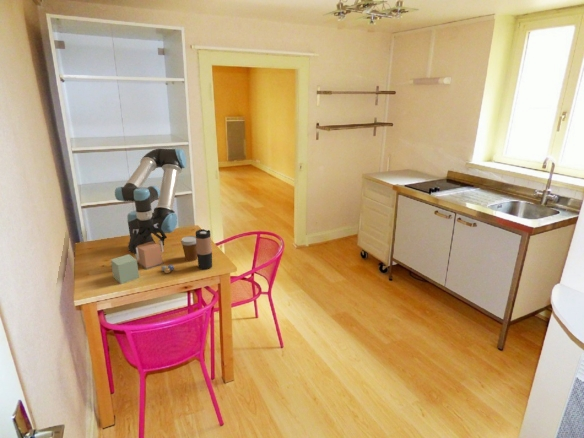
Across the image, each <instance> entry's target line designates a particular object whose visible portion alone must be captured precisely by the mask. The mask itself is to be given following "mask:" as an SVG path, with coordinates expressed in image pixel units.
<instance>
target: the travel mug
mask: <svg viewBox="0 0 584 438" xmlns="http://www.w3.org/2000/svg"><path fill="white" fill-rule="evenodd" d="M195 236H196V246H197V265H198V269H199V270H202V271H203V270H205V271H206V270H210V269H212V268H213V249H212V237H211V230H210V229H208V230H207V229H198V230H196V231H195Z"/></svg>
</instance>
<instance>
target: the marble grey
mask: <svg viewBox="0 0 584 438" xmlns="http://www.w3.org/2000/svg"><path fill="white" fill-rule="evenodd" d="M165 268H168V266H167V265H161V268H160V269H161V271H162V272H164V269H165Z"/></svg>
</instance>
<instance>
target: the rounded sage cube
mask: <svg viewBox="0 0 584 438" xmlns="http://www.w3.org/2000/svg"><path fill="white" fill-rule="evenodd" d="M110 263H111V269H112V275H113V279H114V278H115V281H116V282H117V283H119V284H120V285H122V284H126V283H128V282H130V281H133V280H138V279H140V274H139V266H138V260H137V259H136V257H135V256H134V257H133V256H132V255H131V254H129V253H128V254H125V255H122V256H119V257H115V258H111V259H110Z"/></svg>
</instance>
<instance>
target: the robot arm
mask: <svg viewBox="0 0 584 438" xmlns="http://www.w3.org/2000/svg"><path fill="white" fill-rule="evenodd" d="M139 162H140V164H139V165H138V166H137V168H136V169H135V171H134V172H133V173H132V175H131V176H130V178H128V180H127V181H126V183H125V184H124V186H118V187H116V188H115V191H114V196H115V199H116V200H117V201H118V202H134V206H135V209H134V210H132V211H130V212H129V213H128V214H127V220H126V221H127V225H128V231H129V241H128V246H127V249H128V252H129V253H132V254H134V255H135V256H134V258H135V259H136V260H137V261H138V260H139V254H138V248H137V246H138V245H141V244H145V243H148V242H152V241H153V242H155V243H156V241H155V239H154V237H153V236H152V234H153V235H154V236H156V237H157V238H158V245H160V247H161V253H164V252H165V251H164V246H165V240H166V239H167V238H168V237H167V235H166V234H171V233H173V232H174V231H175V230H176V227H177V225H178V216H177V214H176V213H175V210H174V203H175V196H176V191H177V185H178V178H179V174H180V173H182V172H183V171H182V170H183V169H186V167H187V158H186V153H185V151H184V150H183V149H181V148H154V149H152V150H151V151H148V152H147V153H145V155H143V156H142V158H140V161H139ZM158 168H161V170H163V174H162V180H161V185H160V188H159V187H158V186H156V185H150V186H148V187H143V185H144V183H146V181H147V179H148V177H150V175H151V174H152V172H153V171H155V170H157V169H158ZM157 200H158V202H157V206H156V207H154V208H153V211H152V203H153V202H155V201H157Z"/></svg>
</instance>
